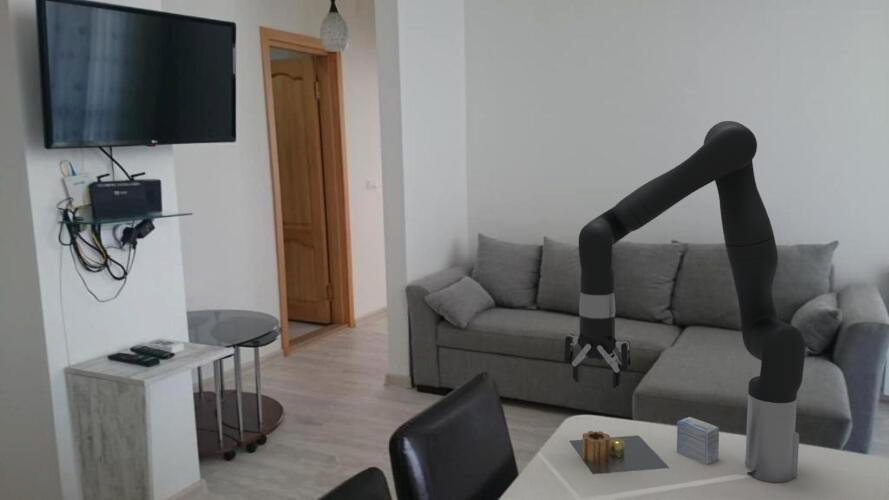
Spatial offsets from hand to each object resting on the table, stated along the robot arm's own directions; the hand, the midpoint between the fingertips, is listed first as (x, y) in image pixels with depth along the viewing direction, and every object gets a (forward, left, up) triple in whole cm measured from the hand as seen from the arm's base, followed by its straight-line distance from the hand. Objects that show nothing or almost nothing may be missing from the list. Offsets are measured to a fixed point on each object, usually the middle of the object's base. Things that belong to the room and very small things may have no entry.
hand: (597, 384), depth 153 cm
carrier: (-5, -1, -18) cm, 19 cm away
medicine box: (-22, +3, -18) cm, 29 cm away
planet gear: (0, 0, -17) cm, 17 cm away
